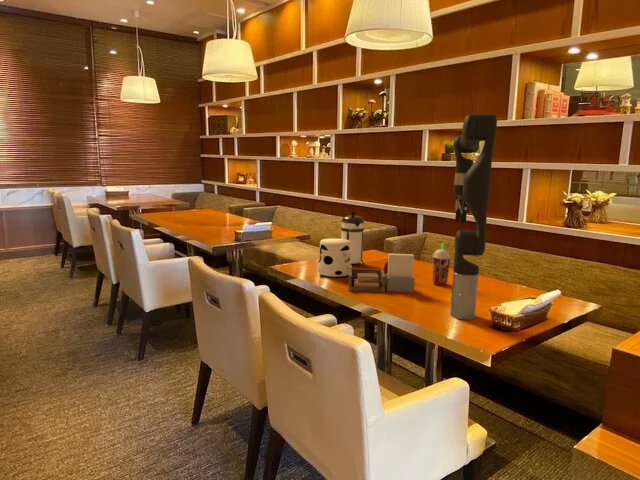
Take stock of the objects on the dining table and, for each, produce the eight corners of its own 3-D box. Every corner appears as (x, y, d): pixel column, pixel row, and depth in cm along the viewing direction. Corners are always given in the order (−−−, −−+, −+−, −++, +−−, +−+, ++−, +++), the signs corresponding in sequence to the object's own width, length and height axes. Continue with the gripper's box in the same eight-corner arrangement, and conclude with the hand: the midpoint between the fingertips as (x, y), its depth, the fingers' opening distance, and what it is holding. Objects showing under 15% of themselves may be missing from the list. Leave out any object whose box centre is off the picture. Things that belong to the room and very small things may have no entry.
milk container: (357, 278, 226) (359, 243, 222) (326, 281, 218) (327, 245, 215) (341, 270, 241) (342, 237, 238) (312, 273, 234) (312, 239, 230)
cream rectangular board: (411, 290, 204) (413, 255, 201) (387, 289, 204) (389, 254, 201) (411, 288, 206) (413, 254, 203) (386, 287, 207) (388, 253, 204)
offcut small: (378, 282, 202) (378, 276, 201) (358, 282, 202) (358, 276, 201) (376, 279, 207) (377, 273, 206) (357, 279, 206) (357, 273, 206)
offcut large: (378, 291, 201) (379, 283, 201) (354, 290, 202) (354, 282, 201) (377, 287, 207) (378, 279, 206) (353, 286, 208) (354, 279, 207)
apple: (406, 280, 223) (407, 261, 221) (394, 284, 216) (395, 263, 215) (391, 276, 230) (392, 257, 228) (379, 279, 223) (380, 260, 222)
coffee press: (369, 263, 259) (372, 210, 253) (357, 268, 245) (358, 213, 240) (343, 258, 268) (344, 208, 262) (329, 264, 254) (330, 211, 249)
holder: (413, 294, 201) (414, 278, 200) (386, 293, 202) (387, 278, 200) (411, 288, 209) (412, 274, 208) (385, 288, 210) (385, 273, 208)
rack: (384, 294, 200) (385, 276, 198) (348, 293, 201) (349, 275, 199) (382, 285, 214) (383, 269, 212) (348, 284, 214) (348, 268, 213)
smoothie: (449, 287, 213) (452, 245, 209) (431, 285, 215) (433, 244, 211) (447, 282, 221) (450, 242, 217) (430, 281, 223) (433, 241, 219)
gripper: (477, 185, 186) (473, 224, 189) (467, 183, 200) (464, 219, 203) (458, 184, 186) (455, 223, 189) (450, 182, 200) (447, 218, 203)
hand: (460, 221), depth 196 cm, fingers open, 8 cm apart
